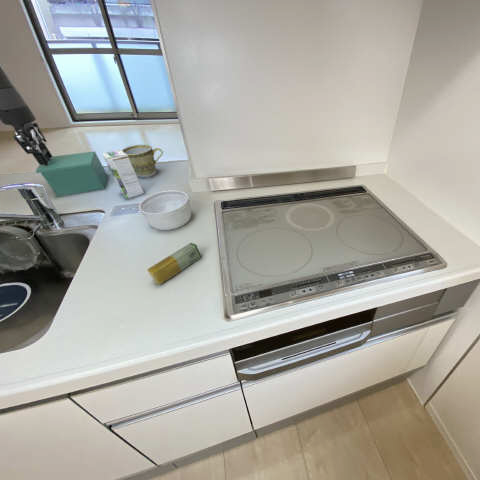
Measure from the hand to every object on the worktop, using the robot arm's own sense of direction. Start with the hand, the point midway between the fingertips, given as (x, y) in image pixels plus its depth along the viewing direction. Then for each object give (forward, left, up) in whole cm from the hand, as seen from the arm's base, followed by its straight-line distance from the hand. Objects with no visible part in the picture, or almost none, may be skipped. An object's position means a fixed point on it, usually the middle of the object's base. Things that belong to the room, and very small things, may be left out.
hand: (46, 160), depth 86 cm
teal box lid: (+5, 0, -2) cm, 5 cm away
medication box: (+33, -60, -11) cm, 69 cm away
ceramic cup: (+28, +2, -11) cm, 30 cm away
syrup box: (+22, -13, -11) cm, 28 cm away
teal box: (+6, 0, -10) cm, 12 cm away
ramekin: (+33, -36, -11) cm, 50 cm away
